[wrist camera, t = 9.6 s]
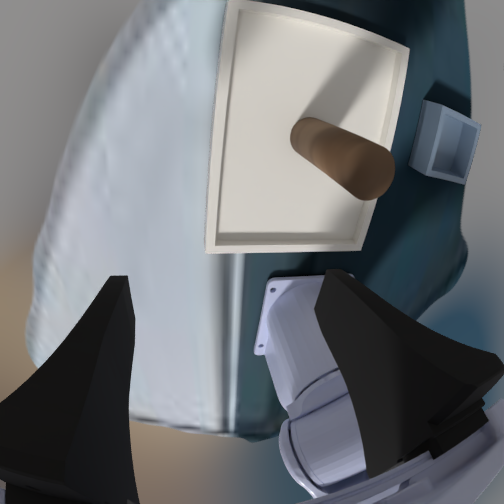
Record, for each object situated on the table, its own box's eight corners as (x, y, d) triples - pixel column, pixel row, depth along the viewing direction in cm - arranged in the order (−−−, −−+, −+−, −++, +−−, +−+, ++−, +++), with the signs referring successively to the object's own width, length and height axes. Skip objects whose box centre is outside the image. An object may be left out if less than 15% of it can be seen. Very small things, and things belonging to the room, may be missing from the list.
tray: (353, 242, 24) (360, 250, 23) (204, 244, 21) (205, 253, 20) (398, 48, 15) (409, 48, 14) (226, 2, 12) (229, -2, 11)
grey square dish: (448, 175, 22) (465, 184, 20) (407, 165, 20) (425, 175, 19) (463, 118, 19) (481, 124, 17) (423, 99, 17) (442, 105, 16)
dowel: (324, 158, 18) (386, 202, 13) (287, 154, 18) (340, 199, 12) (331, 120, 17) (400, 149, 11) (293, 114, 16) (353, 140, 11)
